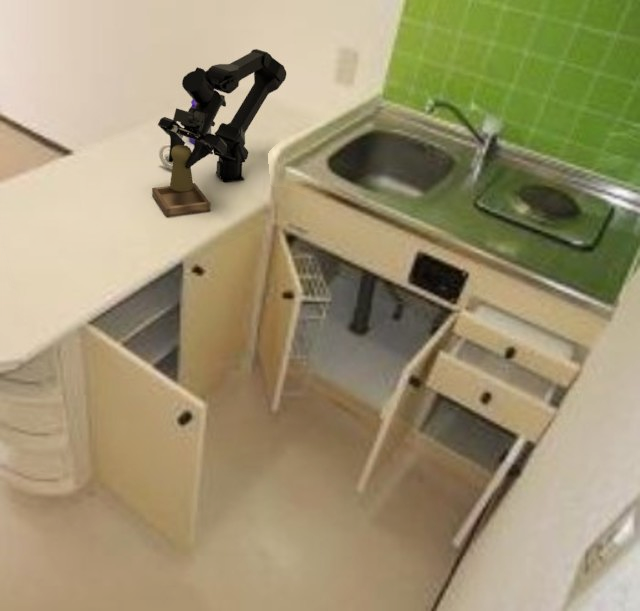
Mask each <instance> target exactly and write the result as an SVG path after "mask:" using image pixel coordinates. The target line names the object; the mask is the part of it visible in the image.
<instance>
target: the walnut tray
mask: <svg viewBox="0 0 640 611" xmlns="http://www.w3.org/2000/svg"><path fill="white" fill-rule="evenodd" d="M151 196H152V198H153V200H154V201H155V202H156V204H157V206H158V207H159V208H160V210H161V212H162V213H163V214H164V216H165V218H173V217H181V216H188V215H195V214H202V212H203V213H210V212H211V202H210V201H209V199H208V198H207V197H206V196H205V194H204V193H203V191H202V190H201V189H200V188H199V187H198V185H197V184H196V183H195V182H193V188H192V189H191V190H189V191H183V192H182V191H176V190H173V189H172V188H171V187H170V185H166V186H159V187H152V188H151ZM209 211H210V212H209Z"/></svg>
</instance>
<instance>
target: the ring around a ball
mask: <svg viewBox="0 0 640 611" xmlns="http://www.w3.org/2000/svg"><path fill="white" fill-rule="evenodd" d="M168 148H170V143H165V144H164V145H162V146H161V147H160V149H159V152H158V155H159V156H158V157H159V159H160V160H159V161H160V162H161V163H162V165H163V166H164V167H165V168H167V169H168V170H171V171H172V167H173V162H172V163H171V162H169V153H170V149H168ZM165 149H168V150H166V151H165ZM164 151H165V153H164Z"/></svg>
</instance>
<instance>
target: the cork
mask: <svg viewBox="0 0 640 611" xmlns="http://www.w3.org/2000/svg"><path fill="white" fill-rule="evenodd" d="M192 151H193V150H191V148H190V147H189V146H187V145H185V144H184V145H177V146H174V147H173V148H172V151H171V156H172V158H173V165H172V166H173V167H172V170H171V176H170V184H169V186H170V187H171V188H172V189H173V190H176V191H182V192H183V191H189V190H191V189H192V188H193V183H194V182H193V174H192V166H191V167H190V168H189V169H186V168H185V166H186V163H187V161H188V159H189V157H190V155H191V153H192Z"/></svg>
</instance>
